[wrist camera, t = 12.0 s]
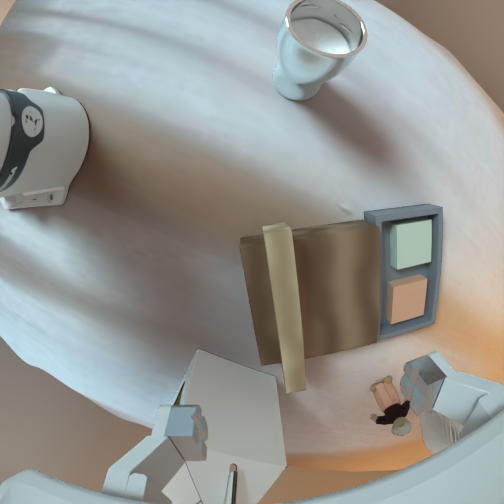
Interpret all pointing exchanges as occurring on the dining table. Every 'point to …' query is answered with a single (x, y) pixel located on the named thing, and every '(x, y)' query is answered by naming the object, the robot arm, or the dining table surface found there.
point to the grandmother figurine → (391, 407)
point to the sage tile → (410, 242)
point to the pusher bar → (286, 303)
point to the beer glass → (315, 46)
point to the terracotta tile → (405, 298)
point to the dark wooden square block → (320, 288)
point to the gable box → (230, 433)
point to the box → (390, 273)
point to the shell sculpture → (439, 430)
